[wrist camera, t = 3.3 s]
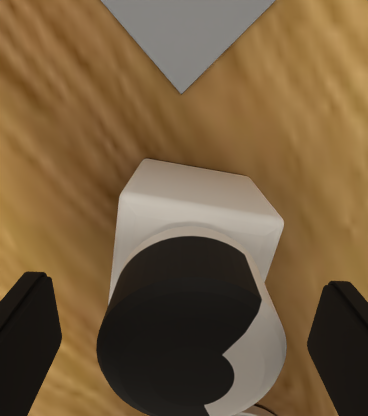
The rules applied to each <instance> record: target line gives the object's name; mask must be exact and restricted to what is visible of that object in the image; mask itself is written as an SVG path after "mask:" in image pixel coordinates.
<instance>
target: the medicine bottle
mask: <svg viewBox="0 0 368 416" xmlns="http://www.w3.org/2000/svg"><path fill="white" fill-rule="evenodd" d="M283 227H284V221H283V219H282V217H281V216H280V215H279V214H278V212H277V211H276V210H275V209H274V207H273V206H272V205H271V204H270V202H269V201H268V200H267V199H266V197H265V196H264V195H263V194H262V192H261V191H260V190H259V189H258V187H257V186H256V185H255V184H254V182H253V181H252V180H251V179H250V177H248V176H243V175H237V174H232V173H226V172H220V171H215V170H209V169H204V168H198V167H192V166H187V165H181V164H175V163H170V162H164V161H159V160H153V159H144V160H142V162H141V163H140V165H139V166H138V168H137V169H136V171H135V172H134V174H133V175H132V177H131V179H130V180H129V182H128V183H127V185H126V186H125V188H124V189H123V191H122V192H121V194H120V197H119V204H118V214H117V224H116V234H115V244H114V254H113V264H112V274H111V284H110V294H109V304H108V308H107V311H106V314H105V316H104V319H103V322H102V325H101V327H100V330H99V334H98V338H97V350H96V351H97V358H98V362H99V365H100V368H101V371H102V372H103V374H104V376H105V378H106V380H107V381H108V383H109V385H110V386H111V388H112V389H113V390H114V392H115V393H116V394H117V395H118V396H119V397H120V398H121V399H122V400H123V401H125V402H126V403H127V404H129V405H130V406H132V407H133V408H135V409H137V410H139V411H140V412H143V413H145V414H147V415H150V416H232V415H235V414H237V413H239V412H242V411H244V410H246V409H247V408H249V407H251V406H252V405H254V404H255V403H256V402H258V401H259V400H260V399H261V398H263V397H264V395H265V394H266V393H267V392H268V391H269V390H270V389H271V387H272V386H273V384H274V383H275V381H276V379H277V377H278V375H279V373H280V371H281V369H282V367H283V365H284V361H285V357H286V349H287V344H286V336H285V332H284V329H283V326H282V324H281V321H280V319H279V317H278V314H277V312H276V310H275V307H274V305H273V303H272V300H271V298H270V296H269V293H268V291H267V289H266V286H265V284H264V283H265V280H266V277H267V274H268V271H269V268H270V265H271V262H272V259H273V256H274V254H275V251H276V248H277V245H278V242H279V239H280V236H281V233H282V230H283Z"/></svg>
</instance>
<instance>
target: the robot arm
mask: <svg viewBox="0 0 368 416" xmlns="http://www.w3.org/2000/svg"><path fill="white" fill-rule="evenodd" d="M61 340H62V333H61V328H60V322H59V316H58V311H57V305H56V300H55V294H54V289H53V283H52V279H51V277H47V275H46V273H44V272H25V273H24V274H23V275H22V276H21V278H20V279H19V280H18V281H17V282H16V284H15V285H14V286H13V287H12V288H11V289H10V291H9V292H8V293H7V294H6V295H5V297H4V298H3V299H2V300H1V301H0V416H27V415H28V413H29V411H30V409H31V406H32V404H33V402H34V400H35V398H36V396H37V394H38V391H39V389H40V387H41V385H42V383H43V381H44V379H45V377H46V374H47V372H48V370H49V368H50V366H51V364H52V362H53V360H54V357H55V355H56V353H57V351H58V349H59V347H60V344H61ZM307 347H308V351H309V354H310V356H311V358H312V360H313V362H314V364H315V366H316V368H317V371H318V373H319V375H320V377H321V379H322V381H323V383H324V385H325V387H326V390H327V392H328V394H329V396H330V398H331V400H332V402H333V404H334V407H335V409H336V411H337V413H338V415H339V416H368V302H367V301H366V300H365V299H364V297H363V296H362V295H361V294H360V293H359V292H358V290H357V289H356V288H355V287H354V286H353V285H352V284H351V283H350V282H348V281H330V282H329V283H328V285H325V286H324V288H323V291H322V294H321V297H320V301H319V304H318V307H317V311H316V314H315V317H314V321H313V324H312V327H311V331H310V334H309V338H308V341H307ZM232 416H275V415H273V414H271V413H270V412H268V411H266V410H264V409H262V408H259V407H257V406H254V405H252V406H251V407H249V408H247V409H246V410H244V411H242V412H239V413H237V414H235V415H232Z"/></svg>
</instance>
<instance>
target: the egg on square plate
mask: <svg viewBox="0 0 368 416" xmlns="http://www.w3.org/2000/svg"><path fill="white" fill-rule="evenodd" d="M101 1H102V2H103V4H104V5H105V6H106V7H107V8H108V9H109V11H110V12H111V13H112V14H113V15H114V16H115V18H116V19H117V20H118V21H119V22H120V23H121V25H122V26H123V27H124V28H125V29H126V30H127V32H128V33H129V34H130V35H131V36H132V37H133V39H134V40H135V41H136V42H137V43H138V44H139V45H140V47H141V48H142V49H143V50H144V51H145V52H146V54H147V55H148V56H149V57H150V58H151V59H152V61H153V62H154V63H155V64H156V65H157V66H158V68H159V69H160V70H161V71H162V72H163V73H164V75H165V76H166V77H167V78H168V79H169V80H170V82H171V83H172V84H173V85H174V86H175V87H176V89H177V90H178V91H179V92H180V93H181V94H182V93H183V92H184V91H185V90H186V89H187V88H188V87H189V86H190V85H191V84H192V83H193V82H194V81H195V80H196V79H197V78H198V77H199V76H200V75H201V74H202V73H203V72H204V71H205V70H206V69H207V68H208V67H209V66H210V65H211V64H212V63H213V62H214V61H215V60H216V59H217V58H218V57H219V56H220V55H221V54H222V53H223V52H224V51H225V50H226V49H227V48H228V47H230V46H231V45H232V44H233V43H234V42H235V41H236V40H237V39H238V38H239V37H240V36H241V35H242V34H243V33H244V32H245V31H246V30H247V29H248V28H249V27H250V26H251V25H252V24H253V23H254V22H255V21H256V20H257V19H258V18H259V17H260V16H261V15H262V14H263V13H264V12H265V11H266V10H267V9H268V8H269V7H270V6H271V5H272V4H273V3H274V2H275V1H276V0H101Z"/></svg>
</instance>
